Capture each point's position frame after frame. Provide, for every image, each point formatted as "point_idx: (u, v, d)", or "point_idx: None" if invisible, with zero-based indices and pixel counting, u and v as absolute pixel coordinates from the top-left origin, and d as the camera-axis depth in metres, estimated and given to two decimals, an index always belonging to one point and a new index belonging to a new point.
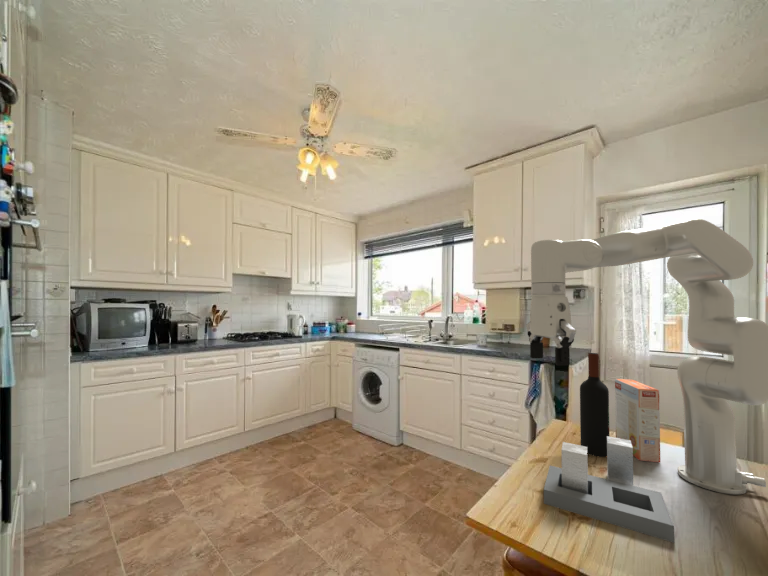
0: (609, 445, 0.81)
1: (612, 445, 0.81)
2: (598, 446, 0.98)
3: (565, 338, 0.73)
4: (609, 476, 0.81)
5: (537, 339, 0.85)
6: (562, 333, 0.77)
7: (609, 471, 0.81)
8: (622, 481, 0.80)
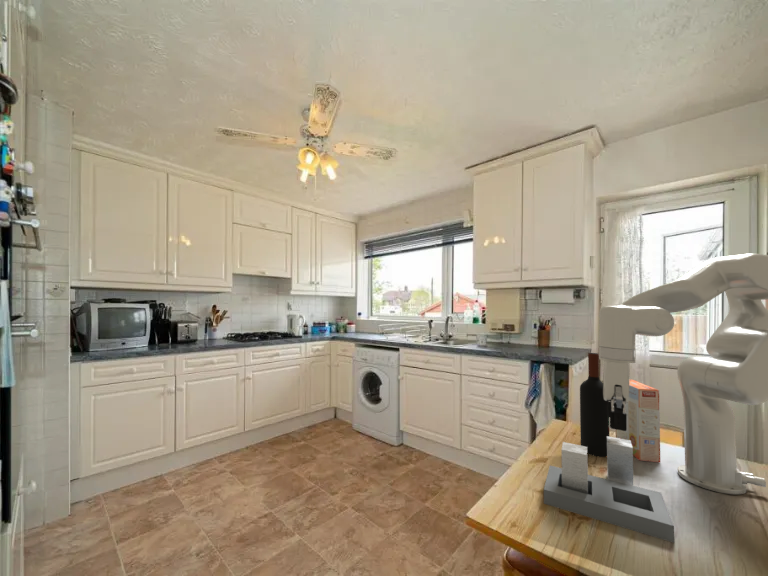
0: (609, 445, 0.81)
1: (612, 445, 0.81)
2: (598, 446, 0.98)
3: None
4: (609, 476, 0.81)
5: None
6: None
7: (609, 471, 0.81)
8: (622, 481, 0.80)
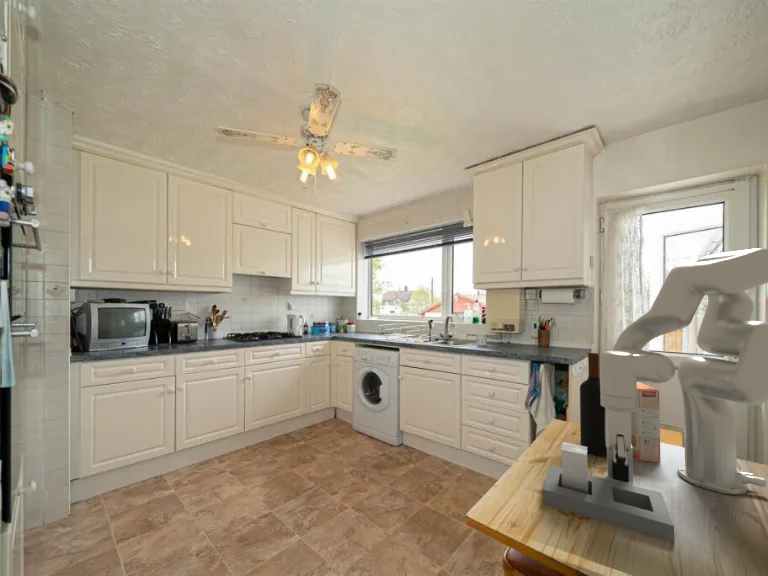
0: None
1: None
2: (598, 446, 0.98)
3: None
4: (609, 476, 0.81)
5: None
6: None
7: (609, 471, 0.81)
8: (622, 481, 0.80)
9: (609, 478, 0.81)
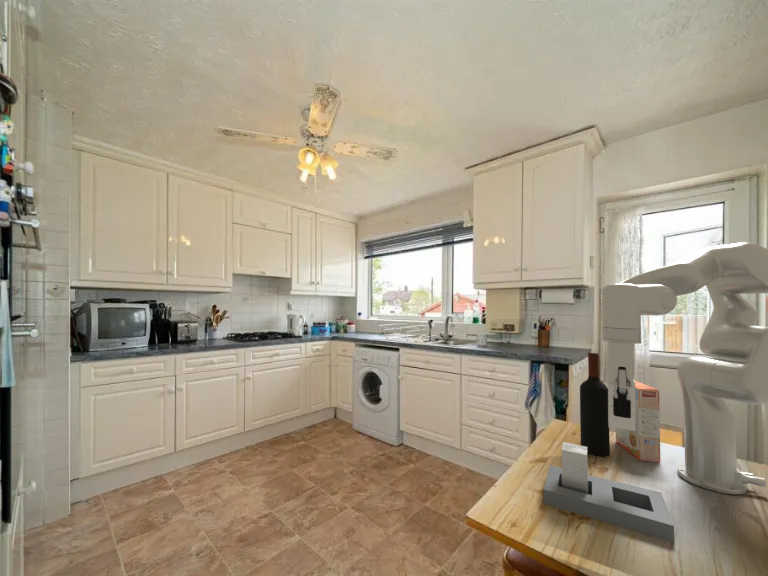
0: None
1: None
2: (598, 446, 0.98)
3: None
4: (609, 413, 0.77)
5: None
6: None
7: (610, 408, 0.77)
8: (623, 418, 0.75)
9: (610, 415, 0.77)
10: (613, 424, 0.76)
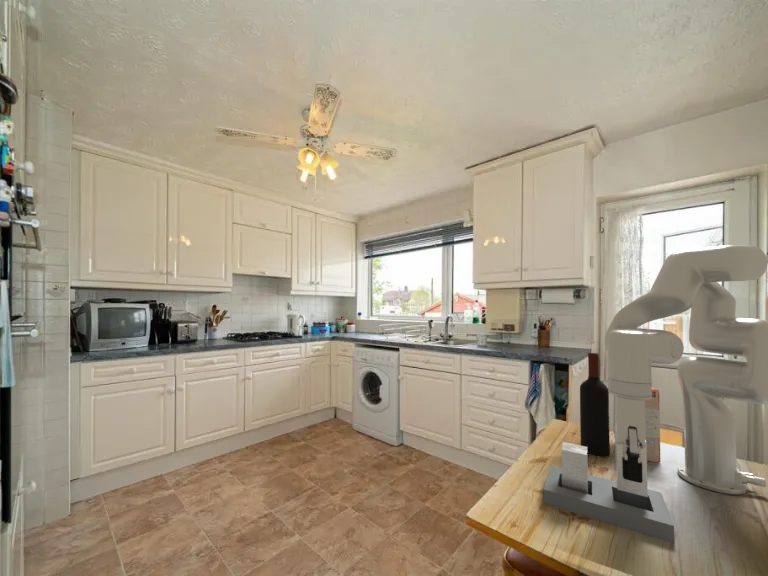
0: None
1: None
2: (598, 446, 0.98)
3: None
4: (618, 475, 0.69)
5: None
6: None
7: (618, 469, 0.69)
8: (633, 481, 0.68)
9: (618, 478, 0.69)
10: (622, 487, 0.69)
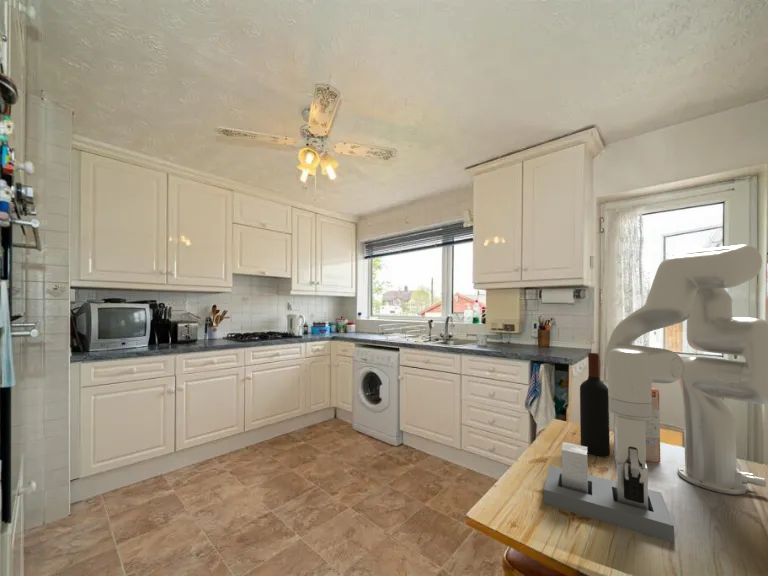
0: None
1: (623, 465, 0.69)
2: (598, 446, 0.98)
3: None
4: (619, 501, 0.69)
5: None
6: None
7: (619, 495, 0.69)
8: None
9: None
10: None
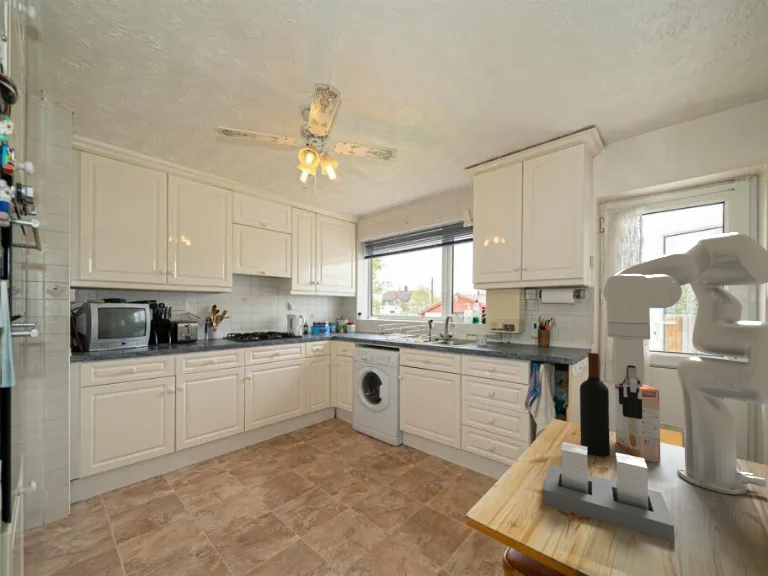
0: (619, 464, 0.69)
1: (623, 465, 0.69)
2: (598, 446, 0.98)
3: None
4: (619, 501, 0.69)
5: None
6: None
7: (619, 495, 0.69)
8: None
9: None
10: None
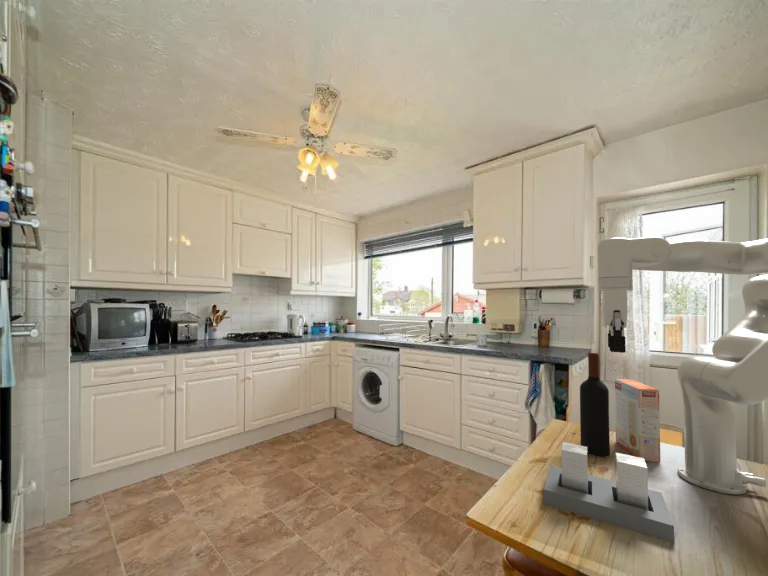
0: (619, 464, 0.69)
1: (623, 465, 0.69)
2: (598, 446, 0.98)
3: None
4: (619, 501, 0.69)
5: None
6: None
7: (619, 495, 0.69)
8: None
9: None
10: None
